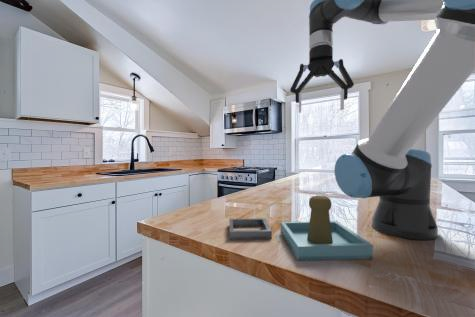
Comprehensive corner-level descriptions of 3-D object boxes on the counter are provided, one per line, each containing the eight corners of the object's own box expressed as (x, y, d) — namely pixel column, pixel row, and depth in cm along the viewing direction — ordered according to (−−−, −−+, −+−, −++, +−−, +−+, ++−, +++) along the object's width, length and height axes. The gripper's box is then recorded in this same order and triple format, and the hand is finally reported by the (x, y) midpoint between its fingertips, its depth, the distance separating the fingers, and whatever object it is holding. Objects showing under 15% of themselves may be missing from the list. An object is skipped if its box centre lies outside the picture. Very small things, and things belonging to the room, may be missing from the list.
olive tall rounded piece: (335, 246, 52) (336, 199, 52) (308, 244, 53) (308, 198, 53) (330, 236, 58) (330, 194, 58) (305, 234, 59) (306, 193, 59)
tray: (336, 231, 64) (336, 220, 64) (372, 258, 48) (372, 244, 48) (280, 232, 63) (280, 222, 63) (298, 260, 47) (298, 246, 47)
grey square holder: (264, 224, 70) (264, 218, 70) (271, 238, 59) (271, 231, 59) (229, 225, 69) (229, 219, 69) (229, 239, 58) (229, 232, 58)
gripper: (359, 47, 77) (358, 110, 77) (284, 57, 84) (284, 114, 85) (364, 37, 70) (363, 106, 70) (282, 49, 77) (282, 111, 78)
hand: (320, 111), depth 78 cm, fingers open, 13 cm apart
